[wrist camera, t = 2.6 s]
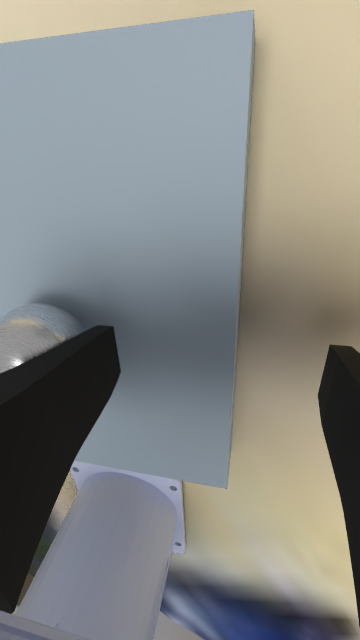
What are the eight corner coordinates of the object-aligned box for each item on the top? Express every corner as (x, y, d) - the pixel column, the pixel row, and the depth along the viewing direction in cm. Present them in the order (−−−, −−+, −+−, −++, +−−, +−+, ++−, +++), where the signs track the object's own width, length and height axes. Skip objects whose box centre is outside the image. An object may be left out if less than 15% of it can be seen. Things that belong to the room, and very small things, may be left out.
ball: (110, 364, 13) (67, 428, 11) (38, 356, 14) (-20, 414, 11) (96, 290, 12) (41, 341, 9) (15, 285, 12) (-61, 331, 10)
